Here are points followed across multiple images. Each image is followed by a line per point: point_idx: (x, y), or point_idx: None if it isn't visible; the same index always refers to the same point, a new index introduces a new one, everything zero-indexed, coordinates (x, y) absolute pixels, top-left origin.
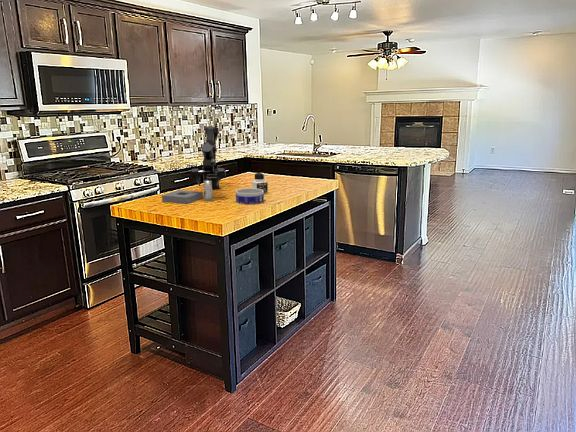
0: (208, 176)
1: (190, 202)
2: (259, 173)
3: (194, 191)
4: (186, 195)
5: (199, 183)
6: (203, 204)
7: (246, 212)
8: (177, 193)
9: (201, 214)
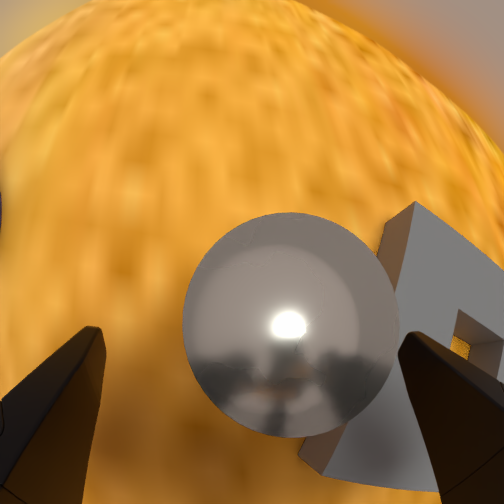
0: None
1: (378, 256)
2: None
3: (400, 478)
4: (442, 288)
5: (430, 343)
6: (266, 182)
7: (57, 29)
8: (497, 373)
9: (252, 18)
